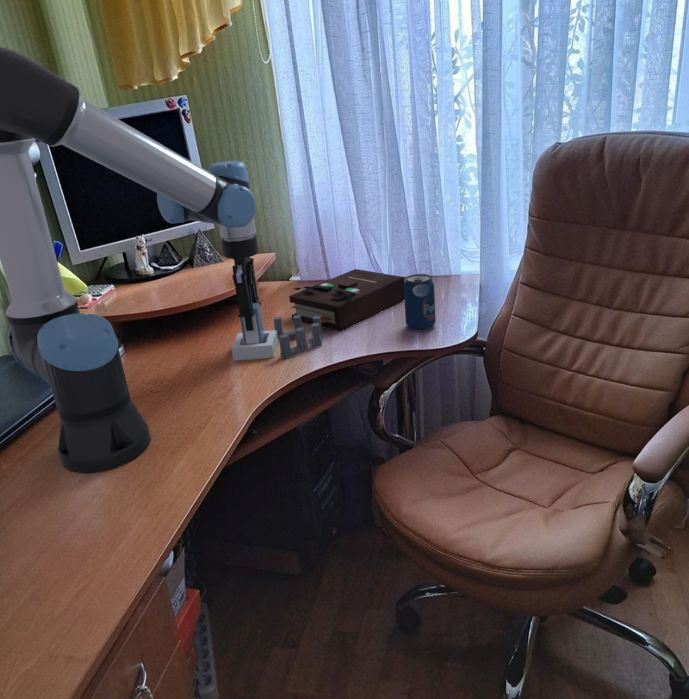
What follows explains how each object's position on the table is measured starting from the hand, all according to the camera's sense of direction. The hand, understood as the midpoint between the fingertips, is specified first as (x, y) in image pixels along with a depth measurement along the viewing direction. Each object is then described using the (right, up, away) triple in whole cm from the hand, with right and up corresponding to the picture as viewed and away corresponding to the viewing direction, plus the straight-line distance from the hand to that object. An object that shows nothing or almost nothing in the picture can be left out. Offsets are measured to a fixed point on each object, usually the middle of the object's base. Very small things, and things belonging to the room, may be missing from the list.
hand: (254, 338), depth 149 cm
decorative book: (+22, +7, +21) cm, 31 cm away
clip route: (+9, -2, +2) cm, 10 cm away
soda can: (+38, +3, +6) cm, 39 cm away
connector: (0, 0, 0) cm, 0 cm away
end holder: (0, -3, +1) cm, 3 cm away
